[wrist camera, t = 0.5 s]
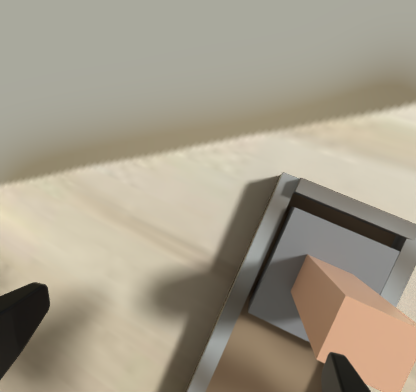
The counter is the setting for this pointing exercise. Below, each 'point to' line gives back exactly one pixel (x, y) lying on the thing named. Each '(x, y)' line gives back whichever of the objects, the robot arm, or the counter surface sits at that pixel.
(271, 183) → the counter surface
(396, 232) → the rail
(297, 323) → the carriage
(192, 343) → the counter surface
